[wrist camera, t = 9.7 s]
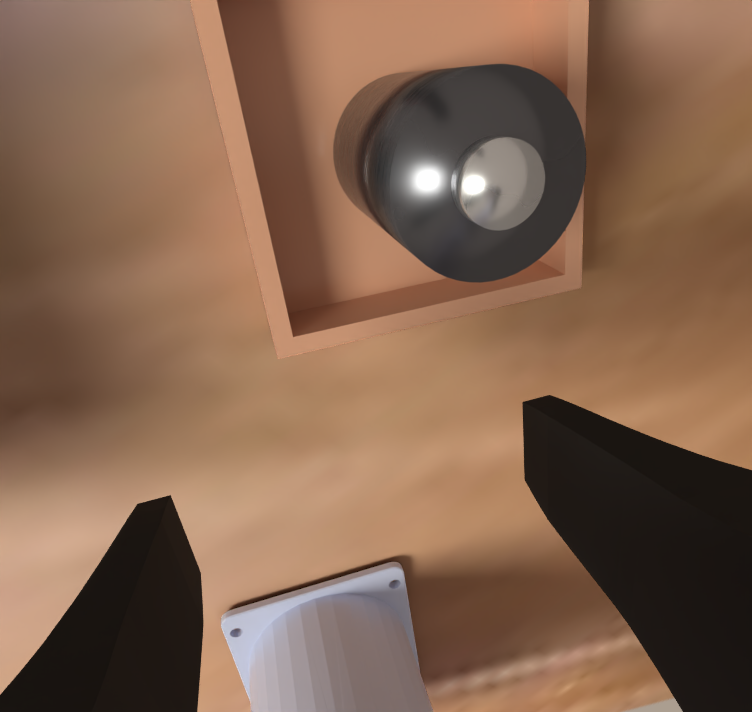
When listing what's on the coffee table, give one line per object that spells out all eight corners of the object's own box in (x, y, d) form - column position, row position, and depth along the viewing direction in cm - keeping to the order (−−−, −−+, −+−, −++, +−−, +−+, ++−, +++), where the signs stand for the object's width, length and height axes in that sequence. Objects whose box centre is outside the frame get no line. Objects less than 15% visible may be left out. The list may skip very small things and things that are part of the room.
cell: (479, 201, 19) (607, 256, 13) (353, 240, 19) (422, 317, 12) (457, 55, 17) (596, 35, 11) (315, 95, 17) (375, 97, 10)
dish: (543, 266, 21) (581, 288, 19) (270, 328, 20) (277, 359, 17) (541, -69, 17) (591, -92, 14) (184, -23, 15) (179, -42, 13)
